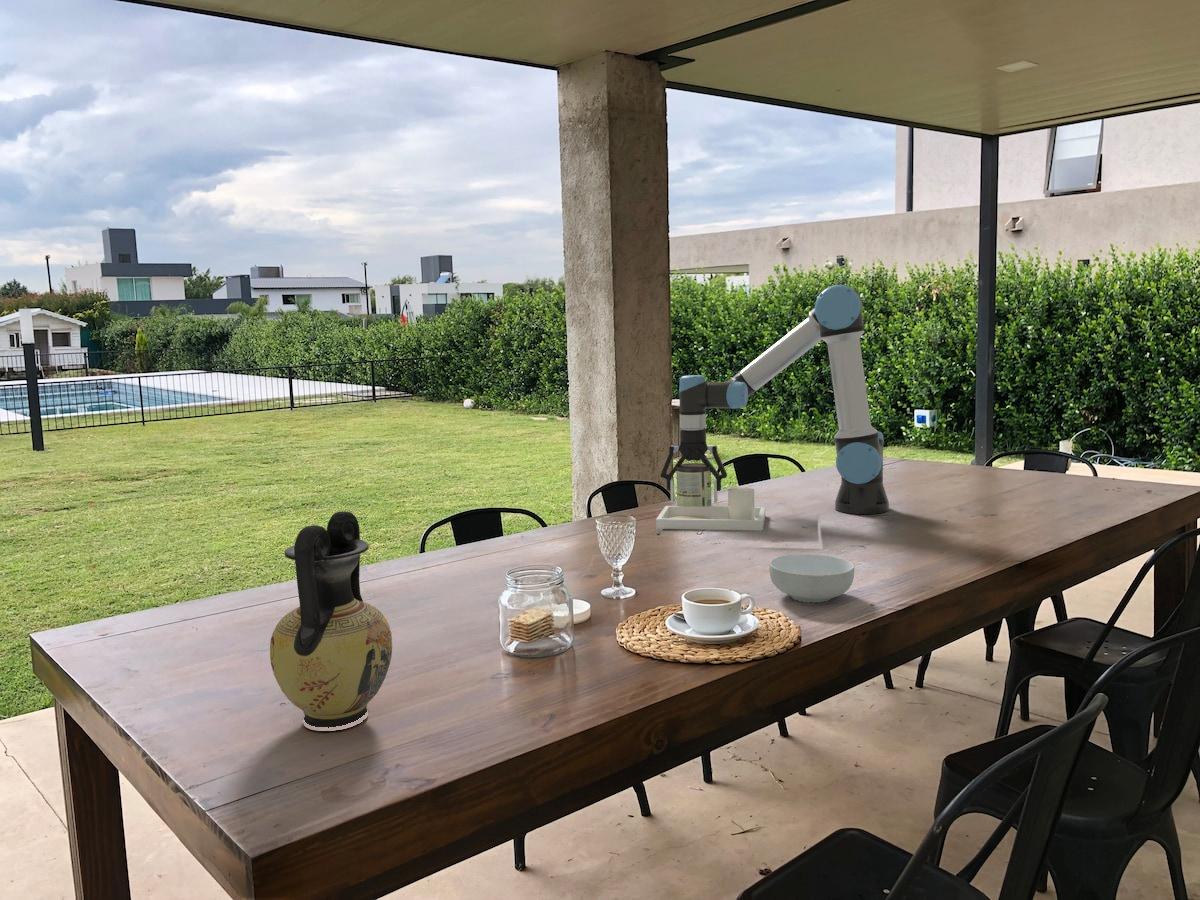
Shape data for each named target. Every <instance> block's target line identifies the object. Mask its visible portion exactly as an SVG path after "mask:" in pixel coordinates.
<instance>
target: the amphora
mask: <svg viewBox="0 0 1200 900" xmlns="http://www.w3.org/2000/svg"><path fill="white" fill-rule="evenodd" d="M359 524H360V523H359V521H358V519H357V517H356V515H354V513H352V512H351V511H345V510H344V511H343V510H342V511H336V512H334V513H333V514H332V516H331V517H330V519H329V520H328V522H327V527H326V528H325V527H324V526H322V525H321V526H320V525H313V524H312V525H307V526H305V527H303V528H302V529H300V531H299V533H297V536H296V539H295V542H294V545H291V546H289V547H288V548H286V549H285V551H284V555H285V557H286V558H287V559H289V560H293V561H294V563H295V564H294V565H295V571H296V572H295V575H296V583H297V584H296V585H297V592H298V593H297V594H298V600H299V602H298V603H299V606H298V607H296V608H294V609H293V610H291V611H289V612H287V613H286V614H285V615H284V616H283V617H281V619H280V620H279V621H278V622H277V624H276V625H275V627H274V630H273V631H272V634H271V637H270V644H269V658H270V665H271V670H272V672H273V676H274V678H275V680H276V682H277V684H278V686H279V688H280V690H281V692H282V693H283V694H284V696H285V697H286V698H287V700H288V701H290V703H291V704H292V705H293V706H294V707H296V708H298V709H300V710H302V712H303V714H304V716H305V717H304V716H303V718H304V720H305V722H306V723H307V724H309V725H311V726H315V727H328V728H329V727H336V726H342V725H346V724H348V723H351V722H354V721H356V720H358V719H359V718H361V717H362V716H363V715H365V713H366V712H367V710H368V708H367V706H368V704H369V702H371V701H372V700H373V699H374V697H375V696H376V695H377V694H378V692H379V690H380V689H381V687H382V685H383V683H384V681H385V680H386V677H387V674H388V670H389V668H390V664H391V660H392V655H393V654H392V653H393V637H392V630H391V627H390V624H389V622H388V620H387V618H386V617H385V615H384V614H383V612H382V611H380V609H378V608H377V607H376V606H373V605H372V604H370V603H367V602H365V601H363V597H362V595H361V588H360V587H361V586H360V572H361V571H360V567H361V565H360V563H361V554H364V553H366V552H367V551H368V549H369V548H370V547H369V544H368V542H367V541H365V540H362V539H361V534H360V533H361V531H360V530H361V529H360V525H359Z"/></svg>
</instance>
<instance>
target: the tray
mask: <svg viewBox="0 0 1200 900" xmlns="http://www.w3.org/2000/svg"><path fill="white" fill-rule="evenodd" d="M765 520H766V507H765V506H755V520H738V519H728V506H677V505H665V506H664V507H663V508H662V510H661V512H660V513H659V514H658V515H657V517H656V519H655V534H656V535H661V533H662V532H663V530H711V531H712V530H715V531H716V530H719V531H720V530H721V531H722V530H723V531H763V530H764V525H765Z"/></svg>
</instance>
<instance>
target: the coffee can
mask: <svg viewBox="0 0 1200 900" xmlns="http://www.w3.org/2000/svg"><path fill="white" fill-rule="evenodd" d="M676 469H677V471H676V472H675V474H676V501H677V502H676V504H677V505H676V506H712V473H711V471H710V466H709V467H707V466H706V465H705V464H704V463H703V462H702V463H701V462H699V463H698V462H695V463H694V462H693V463H692V462H690V463H682V464H681V465H680V467H676Z"/></svg>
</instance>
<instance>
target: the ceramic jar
mask: <svg viewBox="0 0 1200 900" xmlns="http://www.w3.org/2000/svg"><path fill="white" fill-rule="evenodd" d="M727 495H728V497H727V502H728V506H727V507H728V519H738V520H755V507H756V506H755V489H754V488H752V487H740V486H739V487H731V488H729V489H727Z"/></svg>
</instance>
